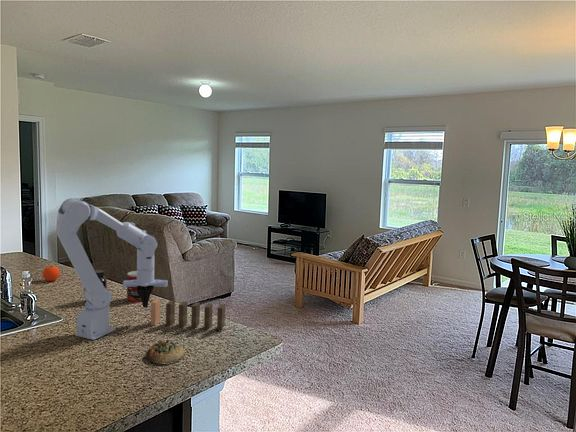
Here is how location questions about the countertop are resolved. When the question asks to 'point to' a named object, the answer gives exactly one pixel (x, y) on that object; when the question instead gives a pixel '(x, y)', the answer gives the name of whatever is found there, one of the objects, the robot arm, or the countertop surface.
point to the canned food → (132, 288)
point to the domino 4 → (195, 315)
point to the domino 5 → (208, 316)
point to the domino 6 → (221, 317)
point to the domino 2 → (170, 313)
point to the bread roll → (165, 352)
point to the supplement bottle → (101, 277)
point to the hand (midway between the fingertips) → (145, 306)
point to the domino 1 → (155, 312)
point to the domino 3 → (182, 314)
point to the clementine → (51, 273)
